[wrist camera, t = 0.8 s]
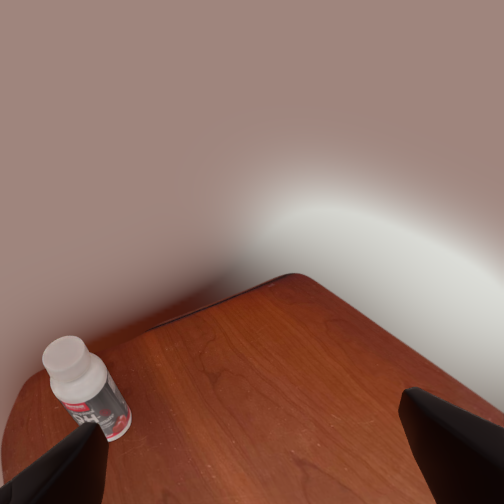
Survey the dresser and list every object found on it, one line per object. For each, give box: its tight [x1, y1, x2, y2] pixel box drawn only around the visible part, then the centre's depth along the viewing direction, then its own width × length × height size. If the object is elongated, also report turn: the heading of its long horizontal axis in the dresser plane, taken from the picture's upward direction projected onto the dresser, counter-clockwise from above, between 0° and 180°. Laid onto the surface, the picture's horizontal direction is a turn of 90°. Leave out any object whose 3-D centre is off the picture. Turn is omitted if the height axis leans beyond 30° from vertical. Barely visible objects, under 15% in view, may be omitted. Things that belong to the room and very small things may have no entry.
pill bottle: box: [42, 336, 132, 441], centre depth 23 cm, size 5×5×10 cm
